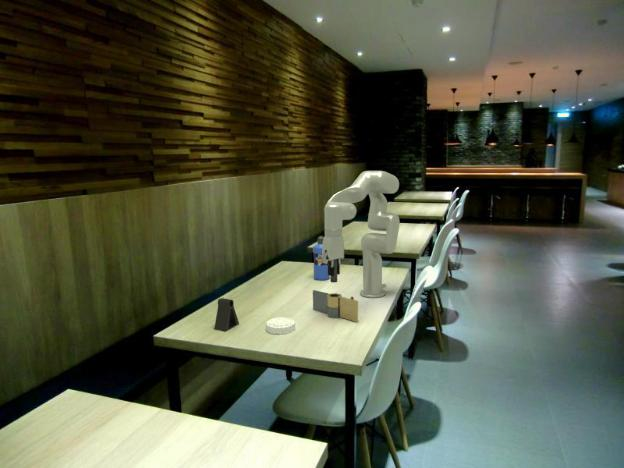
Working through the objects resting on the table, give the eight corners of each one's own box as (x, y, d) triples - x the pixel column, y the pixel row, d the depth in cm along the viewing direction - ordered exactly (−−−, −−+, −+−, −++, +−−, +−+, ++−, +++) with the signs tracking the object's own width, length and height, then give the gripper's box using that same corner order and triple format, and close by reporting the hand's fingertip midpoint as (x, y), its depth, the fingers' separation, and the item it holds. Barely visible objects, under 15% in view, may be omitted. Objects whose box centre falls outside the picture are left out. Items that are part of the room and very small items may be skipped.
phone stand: (225, 331, 178) (224, 303, 176) (214, 329, 181) (212, 301, 179) (239, 324, 186) (238, 297, 184) (228, 322, 188) (226, 295, 186)
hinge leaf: (333, 311, 198) (333, 292, 197) (361, 319, 188) (361, 299, 186) (324, 315, 194) (324, 295, 192) (352, 323, 183) (352, 303, 182)
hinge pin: (333, 280, 193) (333, 253, 191) (338, 281, 191) (338, 254, 189) (329, 281, 191) (328, 254, 189) (334, 282, 189) (334, 255, 187)
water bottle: (329, 280, 250) (329, 237, 245) (313, 281, 250) (312, 237, 246) (329, 276, 259) (328, 234, 255) (313, 276, 259) (312, 235, 255)
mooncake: (288, 336, 172) (288, 328, 172) (261, 333, 176) (260, 324, 176) (299, 325, 183) (299, 317, 183) (273, 322, 187) (273, 314, 187)
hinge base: (318, 307, 204) (318, 288, 203) (344, 315, 194) (344, 295, 192) (309, 311, 200) (308, 291, 198) (335, 319, 189) (335, 298, 188)
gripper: (338, 230, 196) (339, 270, 199) (314, 234, 184) (314, 277, 187) (352, 231, 191) (352, 272, 194) (327, 236, 179) (328, 280, 182)
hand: (333, 274), depth 190 cm, fingers closed on hinge pin, 3 cm apart
